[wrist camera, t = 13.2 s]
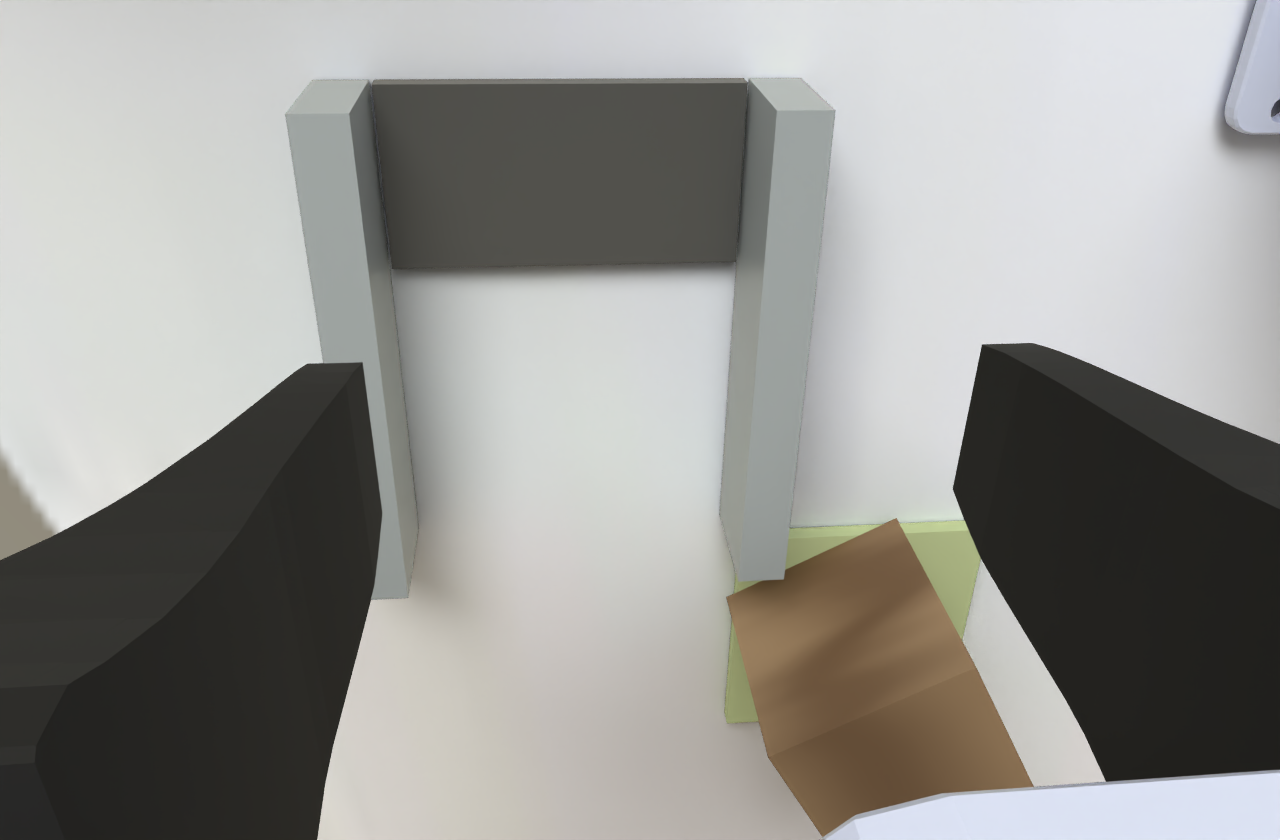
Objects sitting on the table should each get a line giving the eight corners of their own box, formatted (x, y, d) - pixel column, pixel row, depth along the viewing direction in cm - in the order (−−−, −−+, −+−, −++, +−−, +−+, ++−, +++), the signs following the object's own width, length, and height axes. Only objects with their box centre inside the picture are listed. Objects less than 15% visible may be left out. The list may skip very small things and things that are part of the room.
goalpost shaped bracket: (801, 78, 20) (835, 110, 17) (761, 512, 25) (784, 579, 22) (312, 79, 19) (284, 113, 17) (374, 529, 24) (359, 600, 22)
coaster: (981, 519, 25) (987, 529, 25) (941, 698, 28) (946, 709, 28) (738, 530, 25) (742, 540, 24) (724, 712, 28) (726, 723, 27)
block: (896, 517, 25) (975, 667, 20) (955, 639, 27) (1038, 797, 22) (726, 597, 25) (768, 757, 21) (797, 709, 27) (848, 875, 23)
